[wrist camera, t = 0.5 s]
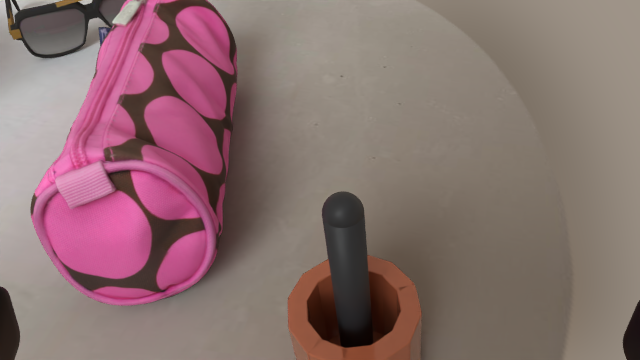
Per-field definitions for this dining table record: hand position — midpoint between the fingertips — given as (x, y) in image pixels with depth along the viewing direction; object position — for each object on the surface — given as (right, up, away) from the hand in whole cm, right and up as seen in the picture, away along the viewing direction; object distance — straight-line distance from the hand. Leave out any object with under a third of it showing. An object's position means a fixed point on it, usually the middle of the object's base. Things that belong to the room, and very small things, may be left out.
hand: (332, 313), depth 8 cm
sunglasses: (-23, +18, +49) cm, 58 cm away
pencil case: (-10, +2, +29) cm, 31 cm away
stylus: (+2, -6, +17) cm, 18 cm away
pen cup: (+2, -7, +17) cm, 19 cm away
